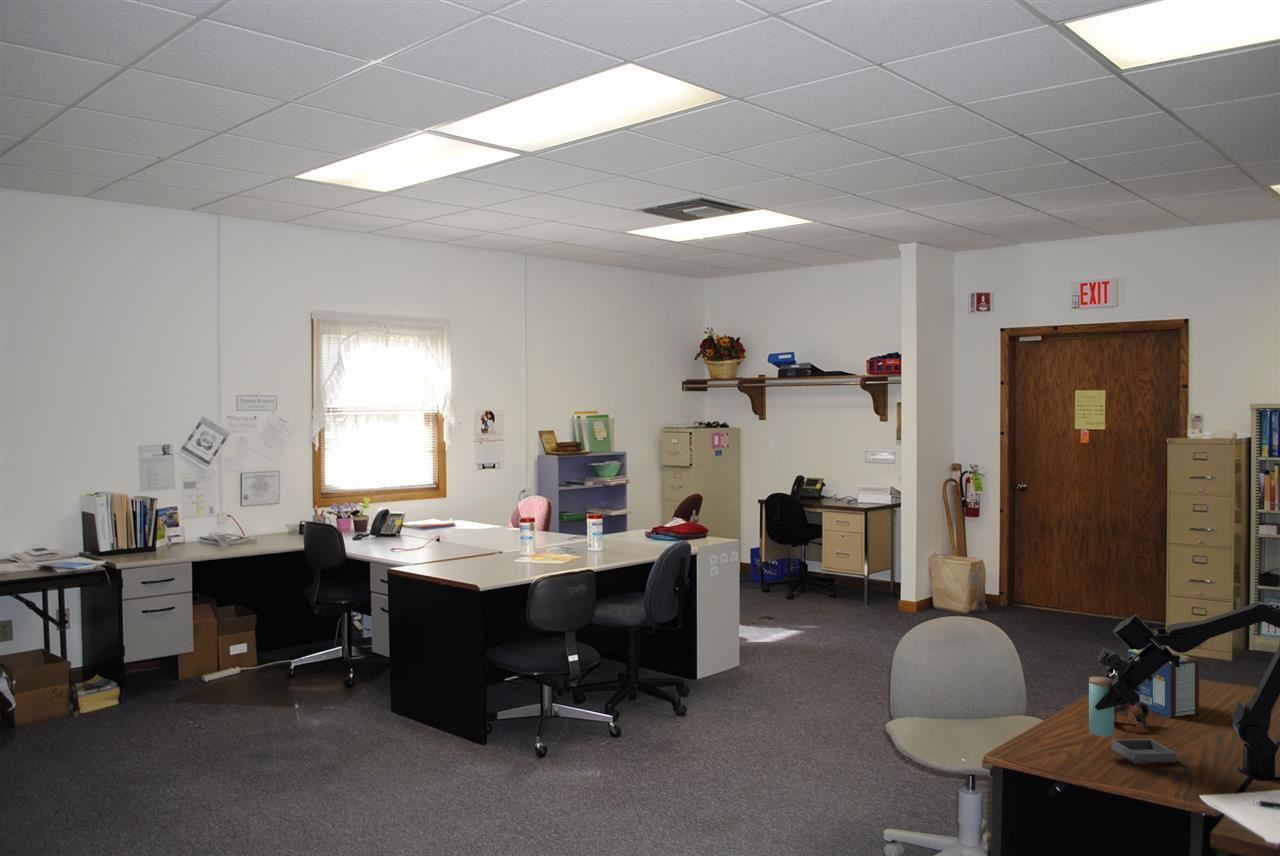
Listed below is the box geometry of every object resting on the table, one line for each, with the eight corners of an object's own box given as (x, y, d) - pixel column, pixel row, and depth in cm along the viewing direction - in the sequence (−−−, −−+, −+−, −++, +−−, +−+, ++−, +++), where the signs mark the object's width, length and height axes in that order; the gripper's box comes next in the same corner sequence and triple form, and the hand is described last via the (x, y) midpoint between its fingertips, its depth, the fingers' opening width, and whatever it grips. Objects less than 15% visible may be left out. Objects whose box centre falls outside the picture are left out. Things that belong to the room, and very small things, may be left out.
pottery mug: (1135, 737, 251) (1118, 707, 253) (1110, 743, 259) (1093, 713, 261) (1165, 719, 256) (1148, 690, 258) (1139, 725, 264) (1122, 697, 266)
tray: (1176, 763, 230) (1176, 753, 230) (1135, 764, 230) (1135, 754, 230) (1150, 748, 241) (1151, 738, 240) (1111, 749, 240) (1111, 739, 240)
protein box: (1154, 699, 283) (1155, 646, 283) (1199, 715, 268) (1200, 659, 268) (1126, 702, 280) (1126, 649, 279) (1170, 718, 265) (1170, 662, 265)
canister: (1118, 736, 233) (1118, 682, 233) (1096, 736, 233) (1096, 682, 232) (1106, 728, 238) (1106, 676, 238) (1084, 729, 238) (1084, 676, 238)
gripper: (1116, 630, 242) (1068, 670, 247) (1123, 647, 225) (1071, 689, 229) (1151, 664, 240) (1102, 704, 244) (1161, 684, 222) (1108, 726, 226)
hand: (1095, 705), depth 236 cm, fingers closed on canister, 5 cm apart
